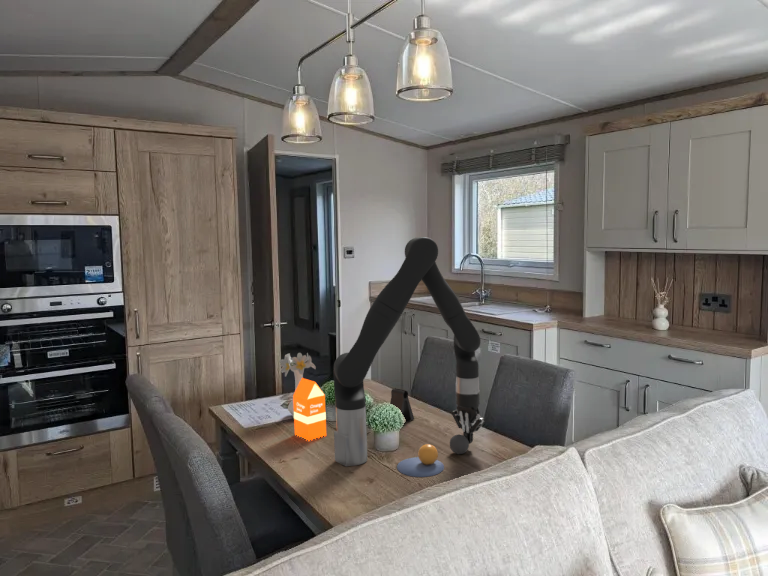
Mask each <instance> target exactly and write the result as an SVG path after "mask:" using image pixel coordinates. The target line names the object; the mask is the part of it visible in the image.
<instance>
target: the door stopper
mask: <svg viewBox="0 0 768 576" xmlns="http://www.w3.org/2000/svg"><path fill="white" fill-rule="evenodd" d="M390 395H391V398H390V401H389V405H390V404H393V405H395V406H396V407H398V408H399V409H400V410H401V412H402V414H403V415H404V417H405V419H406V422H407V423H409V422H411V420H412V421H414V420H415V417H414V413H413V409H412V407H411V402H410V400H409V392H408V390H405V389H401V388H396V387H395V388H392V389H391V392H390ZM413 419H414V420H413ZM408 421H409V422H408Z"/></svg>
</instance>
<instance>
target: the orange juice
mask: <svg viewBox="0 0 768 576" xmlns="http://www.w3.org/2000/svg"><path fill="white" fill-rule="evenodd" d="M292 400H293V404H294V417H293V420H294V421H293V425H294V426H293V427H294V435H295V436H296V435H297V436H296V437H298V436H299V437H298V438H300V437H302V438H304V439H306V440H305V441H307V440H308V441H307V442H311V441H314V440H313V439H315V440H317V439H316V438H318V439H321V438H324V437H327V413H326V394H325V393H324V392H323V390H322V389H321V388H320V386H319V385H318V384H317V382H316V381H314V380H310V379H307V378H304V377H303V378H302V379H301V381H300V383H299V385H298V387H297V389H296V391H295V390H294V392H293V395H292ZM323 436H324V437H323ZM320 437H321V438H320ZM302 438H301V439H302ZM304 439H303V440H304ZM310 440H311V441H310Z"/></svg>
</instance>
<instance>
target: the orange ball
mask: <svg viewBox="0 0 768 576" xmlns="http://www.w3.org/2000/svg"><path fill="white" fill-rule="evenodd" d="M417 457H419V460H420V461H421V462H422V463H423V464H426V465H431V464H433V463H434V462H435V461H436V460H438V457H439V452H438V450H437V448H436V446H434V445H433V444H429V443H426V444H423V445H422V446H420V448H419V449H418V451H417Z"/></svg>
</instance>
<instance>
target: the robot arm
mask: <svg viewBox="0 0 768 576" xmlns="http://www.w3.org/2000/svg"><path fill="white" fill-rule="evenodd" d="M438 256H439V246H438V244H437V242H436V241H434V239H432V238H430V237H425V236H420V237H418V236H417V237H415V238H412V239H410V240H409V241H407V243H406V245H405V246H404V257H405V258H404V261H403V262H402V264H401V266H400V268H399V270H398V271H397V273H396V274H395V275H394V276H393V278H392V279H391V280H389V281H388V283H387V284H386V285H385V286H384V287H383V288H382V290H381V291H380V292H379V294H378V295H377V297H375V300H374V301H373V303H372V304H371V306H370V308H369V310H368V312H367V313H366V316H365V318H364V320H363V324H362V327H361V329H360V332H359V334H358V337H357V339H356V341H355V342H354V344H353V346H352V347H351V348H350V350H349V351H348V352H344V353H342V354H340V355H338V357H336V359H335V361H334V364H333V388H334V389H333V391H334V392H333V393H334V399H335V401H334V402H335V419H336V420H335V423H336V425H335V427H336V430H334V431H333V441H334V443H333V445H334V461H335V462H337V463H338V464H340V465H342V466H345V467H350V466H359V465H363V464H365V463H366V462H367V461H368V438H367V437H368V436H367V408H366V404H367V403H366V394H365V387H364V380H365V379H366V376H367V374H368V372H369V370H370V368H371V365H372V364H373V362H374V359H375V357H376V355H377V353H378V352H379V350H380V349H381V347H382V346H383V344H384V343H385V341H386V340H387V338H388V337H389V335H390V334H391V332H392V330H393V329H394V327H395V326H396V324H397V323H398V321H399V319H400V318H401V316H402V315H403V313H404V311H405V309H406V307H407V306H408V304H409V302H410V300H411V299H412V297H413V295H414V293H415V290H416V289H417V287H418V285H419V284H420V283H421V281H422V282H423V283H424V285H425V287H426V288H427V290H428V292H429V294H430V295H431V298H432V300H433V302H434V303H435V306H436V308H437V309H438V311H439V313H440V315H441V317H442V319H443V321H444V322H445V324H446V325H447V326H448V327H449V329H451V331H452V333H453V349H454V357H455V363H456V365H455V366H456V367H455V371H456V373H455V374H456V375H455V377H456V379H455V405H456V409H455V410H452V411H451V415H452V418H453V419H454V421H455V424H456V425H457V428H459V429H461V430H462V432H463V434H462V435H463V436H465V437H466V438H467V440H468V442H469V445H470V444H472V443H473V442H474V433H475V432H477V431H479V430H480V428H482V426H483V424H484V423H485V422H486V418H485V417H482V416H481V415H480V409H479V406H480V404H481V403H480V402H481V398H480V397H481V396H480V395H481V394H480V392H481V391H480V378H479V361H478V359H477V357H476V351H477V350H478V349H479V347H480V346H481V337H480V336H481V335H480V333H479V332H478V330H477V329H476V326H474V324H473V322H472V321H471V319H470V318H469V317H468V315H467V313H466V310H465V309H464V308H463V305H462V303H461V301H460V300H459V298H458V296H457V295H456V293H455V292H454V290H453V288H452V287H451V286H450V285H449V283H448V282H447V280H446V279H445V278H444V276H443V275H442V273H441V271H440V270H439V267H438V265H437V262H436V261H437V259H438Z"/></svg>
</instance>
